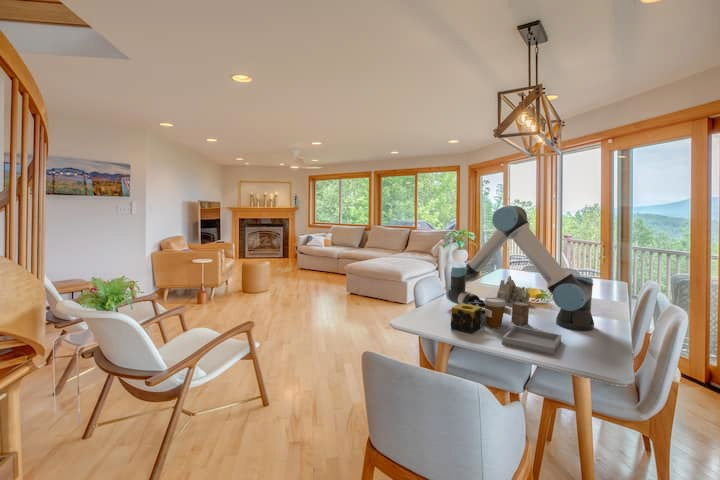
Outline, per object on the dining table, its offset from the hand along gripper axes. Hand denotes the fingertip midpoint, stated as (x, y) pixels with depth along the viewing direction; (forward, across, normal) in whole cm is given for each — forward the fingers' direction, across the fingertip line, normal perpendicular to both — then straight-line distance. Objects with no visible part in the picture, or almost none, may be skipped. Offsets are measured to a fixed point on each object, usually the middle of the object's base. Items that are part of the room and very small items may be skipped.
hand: (501, 313), depth 162 cm
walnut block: (-4, -15, -7) cm, 17 cm away
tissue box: (-4, +15, -7) cm, 17 cm away
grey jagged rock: (-35, -39, -7) cm, 53 cm away
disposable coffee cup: (-4, 0, -7) cm, 8 cm away
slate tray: (+18, 0, -7) cm, 19 cm away
